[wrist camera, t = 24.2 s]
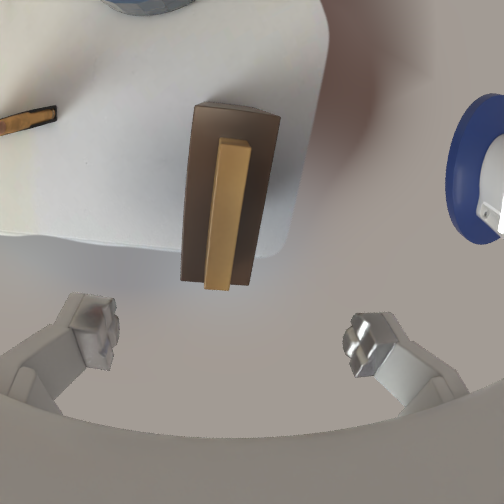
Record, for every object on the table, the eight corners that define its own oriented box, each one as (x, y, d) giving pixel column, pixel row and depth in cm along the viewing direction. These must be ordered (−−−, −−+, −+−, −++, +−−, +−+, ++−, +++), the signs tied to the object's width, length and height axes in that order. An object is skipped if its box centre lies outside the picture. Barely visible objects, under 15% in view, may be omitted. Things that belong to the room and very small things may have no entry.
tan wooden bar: (247, 140, 16) (252, 147, 14) (227, 270, 20) (229, 291, 18) (219, 136, 16) (220, 143, 14) (204, 268, 20) (203, 289, 18)
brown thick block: (254, 107, 27) (281, 116, 16) (236, 215, 32) (248, 286, 21) (204, 101, 26) (194, 105, 15) (191, 211, 32) (180, 281, 21)
